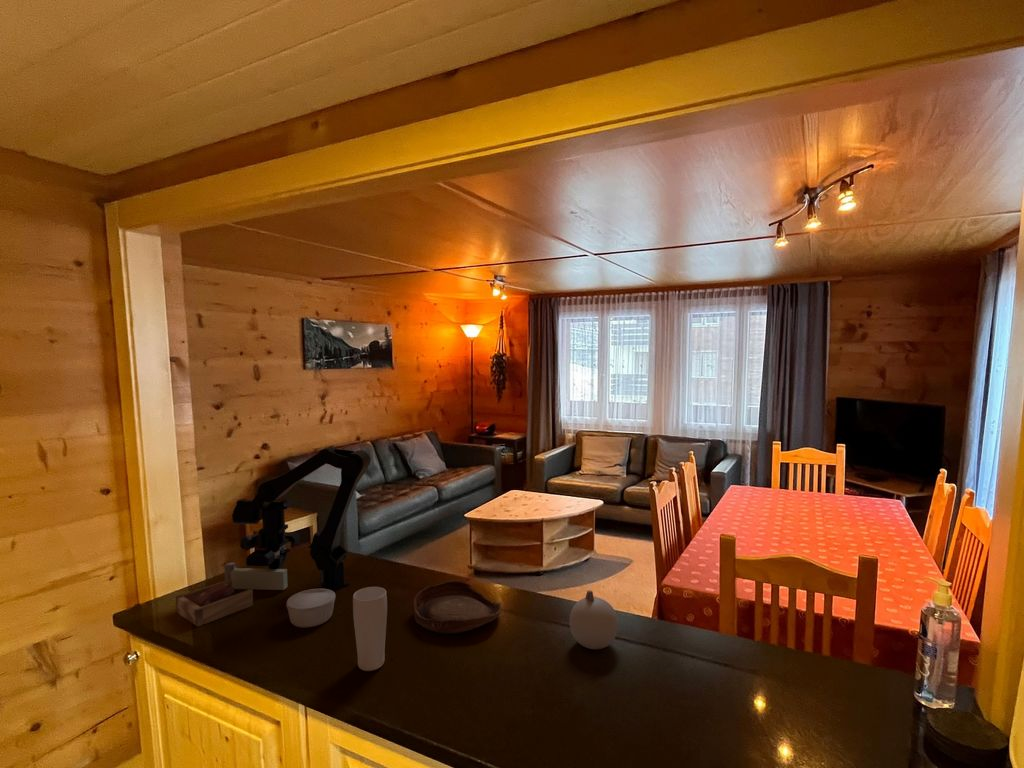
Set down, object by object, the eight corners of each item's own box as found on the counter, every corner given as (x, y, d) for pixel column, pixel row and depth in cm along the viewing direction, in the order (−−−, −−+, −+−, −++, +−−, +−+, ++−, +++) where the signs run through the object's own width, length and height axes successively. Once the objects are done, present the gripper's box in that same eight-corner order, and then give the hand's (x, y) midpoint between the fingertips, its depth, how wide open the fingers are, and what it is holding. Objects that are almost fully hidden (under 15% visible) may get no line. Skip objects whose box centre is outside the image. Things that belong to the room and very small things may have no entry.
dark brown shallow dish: (518, 617, 125) (518, 597, 125) (459, 652, 110) (459, 630, 110) (455, 591, 140) (455, 573, 139) (395, 620, 124) (395, 600, 124)
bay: (253, 605, 132) (252, 590, 132) (197, 626, 122) (197, 610, 122) (230, 593, 140) (230, 578, 139) (176, 612, 129) (175, 596, 129)
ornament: (560, 646, 111) (560, 592, 111) (587, 628, 119) (587, 577, 118) (600, 664, 104) (600, 607, 104) (626, 644, 112) (626, 590, 111)
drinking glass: (394, 658, 107) (393, 588, 107) (376, 677, 101) (374, 602, 100) (367, 653, 110) (365, 584, 109) (347, 671, 103) (345, 598, 103)
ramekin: (336, 605, 132) (335, 585, 132) (335, 625, 122) (335, 604, 121) (289, 612, 129) (288, 591, 128) (284, 634, 118) (283, 611, 118)
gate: (288, 586, 142) (287, 563, 142) (283, 590, 140) (282, 567, 140) (228, 585, 144) (228, 562, 143) (223, 589, 141) (222, 566, 141)
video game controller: (195, 623, 127) (203, 600, 125) (185, 611, 128) (192, 589, 127) (232, 606, 136) (239, 584, 134) (221, 595, 137) (229, 574, 136)
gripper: (264, 513, 153) (266, 563, 154) (225, 534, 135) (227, 592, 136) (300, 513, 153) (301, 564, 153) (266, 535, 134) (268, 593, 135)
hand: (275, 577), depth 144 cm, fingers closed
